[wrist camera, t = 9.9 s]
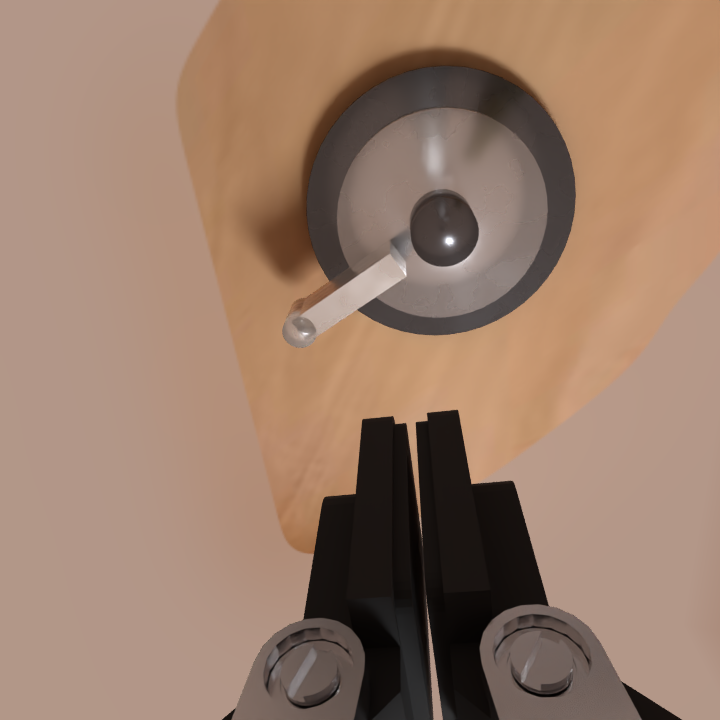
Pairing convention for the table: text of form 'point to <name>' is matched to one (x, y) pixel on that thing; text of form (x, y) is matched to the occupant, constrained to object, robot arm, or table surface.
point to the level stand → (437, 91)
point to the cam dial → (431, 221)
